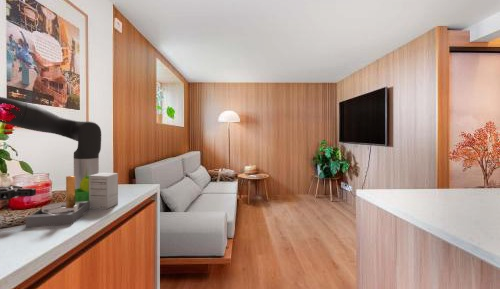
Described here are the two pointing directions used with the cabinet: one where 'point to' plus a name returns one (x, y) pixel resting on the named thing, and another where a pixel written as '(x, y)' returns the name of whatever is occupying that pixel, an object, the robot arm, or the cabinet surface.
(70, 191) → the dial
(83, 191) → the fruit basket
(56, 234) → the cabinet surface
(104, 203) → the supplement box
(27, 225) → the housing
